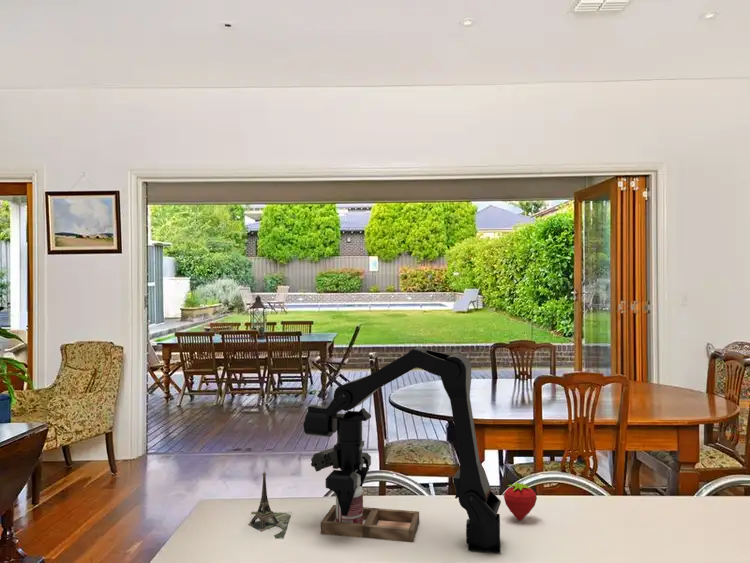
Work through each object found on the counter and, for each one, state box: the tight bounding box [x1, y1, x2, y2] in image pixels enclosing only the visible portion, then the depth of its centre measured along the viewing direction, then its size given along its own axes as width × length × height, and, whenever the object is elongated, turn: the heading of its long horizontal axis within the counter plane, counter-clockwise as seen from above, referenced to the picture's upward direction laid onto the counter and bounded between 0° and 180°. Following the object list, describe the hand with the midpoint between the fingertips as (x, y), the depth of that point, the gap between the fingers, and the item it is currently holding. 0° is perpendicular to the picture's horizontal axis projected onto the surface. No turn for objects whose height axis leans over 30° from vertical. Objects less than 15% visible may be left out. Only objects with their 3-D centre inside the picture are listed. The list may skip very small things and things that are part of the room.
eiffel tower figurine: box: [247, 471, 292, 540], centre depth 130 cm, size 15×10×13 cm
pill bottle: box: [335, 473, 364, 524], centre depth 130 cm, size 6×6×11 cm
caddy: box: [320, 504, 420, 543], centre depth 128 cm, size 20×10×2 cm, turn 79°
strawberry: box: [503, 479, 538, 521], centre depth 133 cm, size 6×8×10 cm
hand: (349, 507), depth 130 cm, fingers open, 8 cm apart
